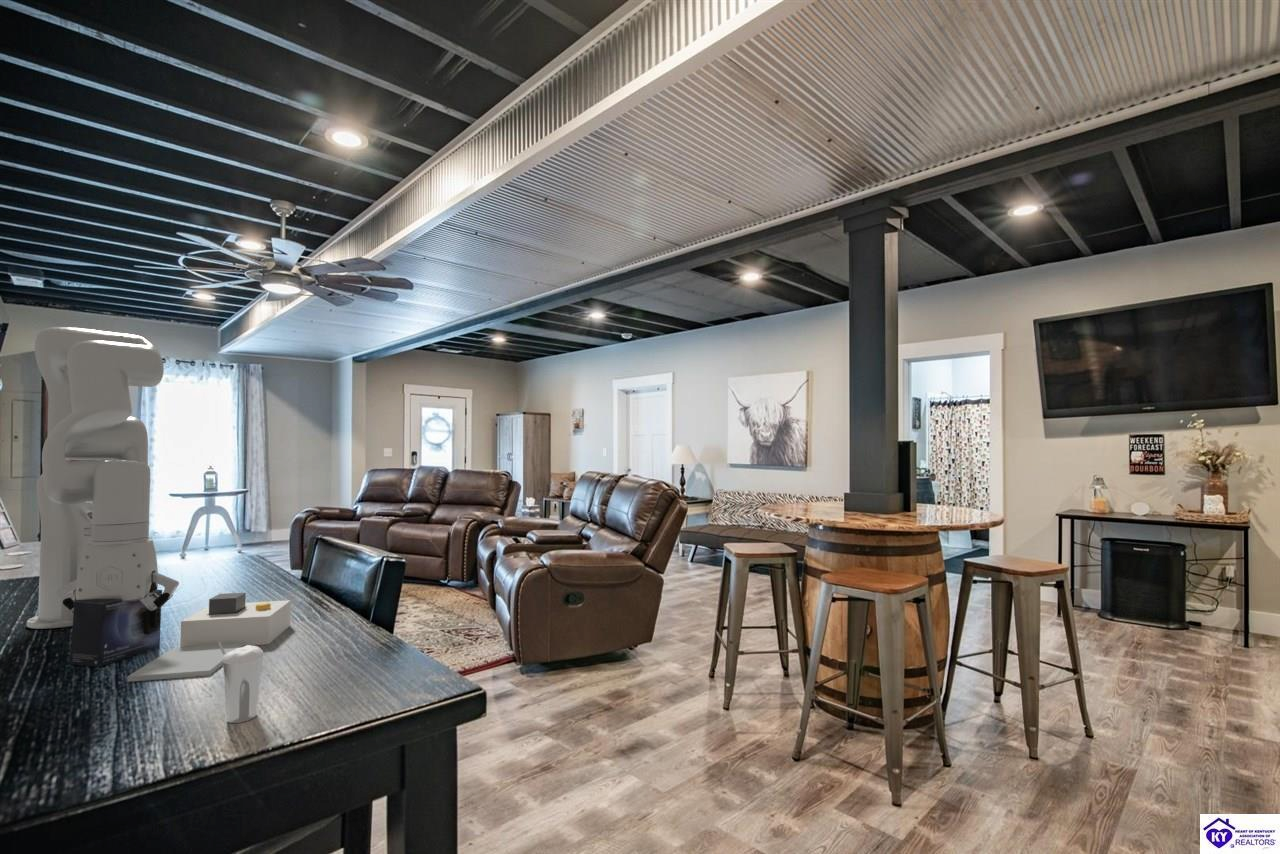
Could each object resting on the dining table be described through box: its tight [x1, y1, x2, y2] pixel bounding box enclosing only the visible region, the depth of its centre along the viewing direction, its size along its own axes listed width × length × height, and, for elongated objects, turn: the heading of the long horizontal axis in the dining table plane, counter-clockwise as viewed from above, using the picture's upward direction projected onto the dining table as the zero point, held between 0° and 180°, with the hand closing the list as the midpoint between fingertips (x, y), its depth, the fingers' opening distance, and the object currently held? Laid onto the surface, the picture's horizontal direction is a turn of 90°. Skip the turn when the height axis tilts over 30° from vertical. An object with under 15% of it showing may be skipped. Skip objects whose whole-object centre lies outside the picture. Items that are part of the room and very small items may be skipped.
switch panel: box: [179, 599, 292, 647], centre depth 115 cm, size 12×14×6 cm
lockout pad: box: [126, 643, 245, 683], centre depth 101 cm, size 14×11×1 cm
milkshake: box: [218, 642, 264, 724], centre depth 81 cm, size 4×5×10 cm
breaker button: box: [208, 592, 247, 615], centre depth 115 cm, size 4×4×6 cm
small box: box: [69, 589, 163, 668], centre depth 105 cm, size 11×6×10 cm, turn 169°
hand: (118, 634), depth 105 cm, fingers open, 9 cm apart
